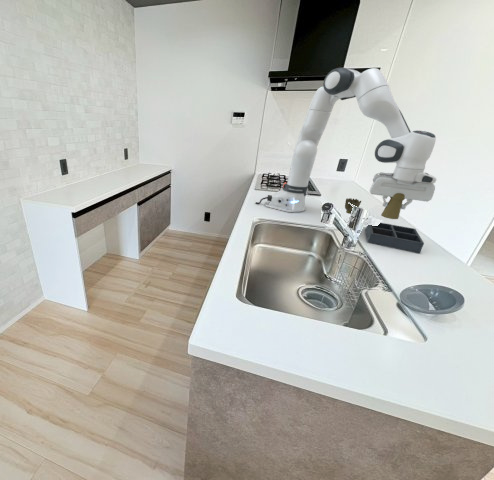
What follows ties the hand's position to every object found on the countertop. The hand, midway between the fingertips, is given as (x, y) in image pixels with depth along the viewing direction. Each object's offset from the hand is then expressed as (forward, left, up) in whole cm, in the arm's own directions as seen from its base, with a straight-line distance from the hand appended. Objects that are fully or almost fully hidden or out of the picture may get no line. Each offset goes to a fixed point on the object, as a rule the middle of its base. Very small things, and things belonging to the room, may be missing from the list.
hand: (393, 207), depth 110 cm
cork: (0, 0, -4) cm, 4 cm away
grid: (+4, +4, -16) cm, 17 cm away
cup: (-12, +36, -16) cm, 41 cm away
